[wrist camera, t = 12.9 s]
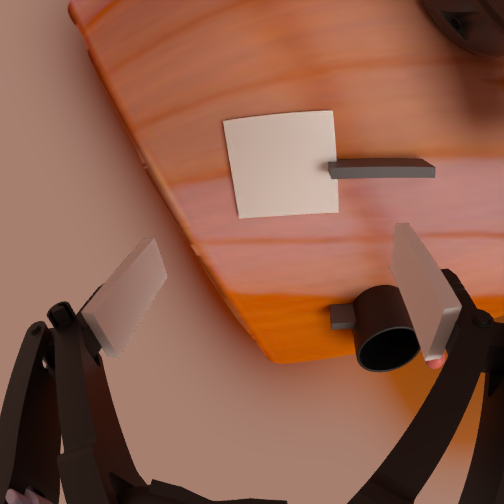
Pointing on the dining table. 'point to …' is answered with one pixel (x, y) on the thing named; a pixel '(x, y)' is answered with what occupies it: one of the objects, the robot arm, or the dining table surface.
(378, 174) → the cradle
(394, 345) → the mug
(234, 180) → the plate
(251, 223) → the dining table surface
